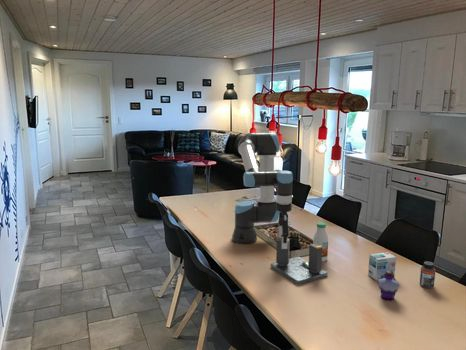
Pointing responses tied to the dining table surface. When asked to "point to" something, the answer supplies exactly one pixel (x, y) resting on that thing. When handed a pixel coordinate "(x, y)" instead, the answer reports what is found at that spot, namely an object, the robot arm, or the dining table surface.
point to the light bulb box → (381, 265)
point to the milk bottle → (321, 239)
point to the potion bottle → (388, 286)
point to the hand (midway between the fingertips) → (282, 243)
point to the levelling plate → (298, 271)
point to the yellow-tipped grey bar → (282, 253)
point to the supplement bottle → (427, 275)
